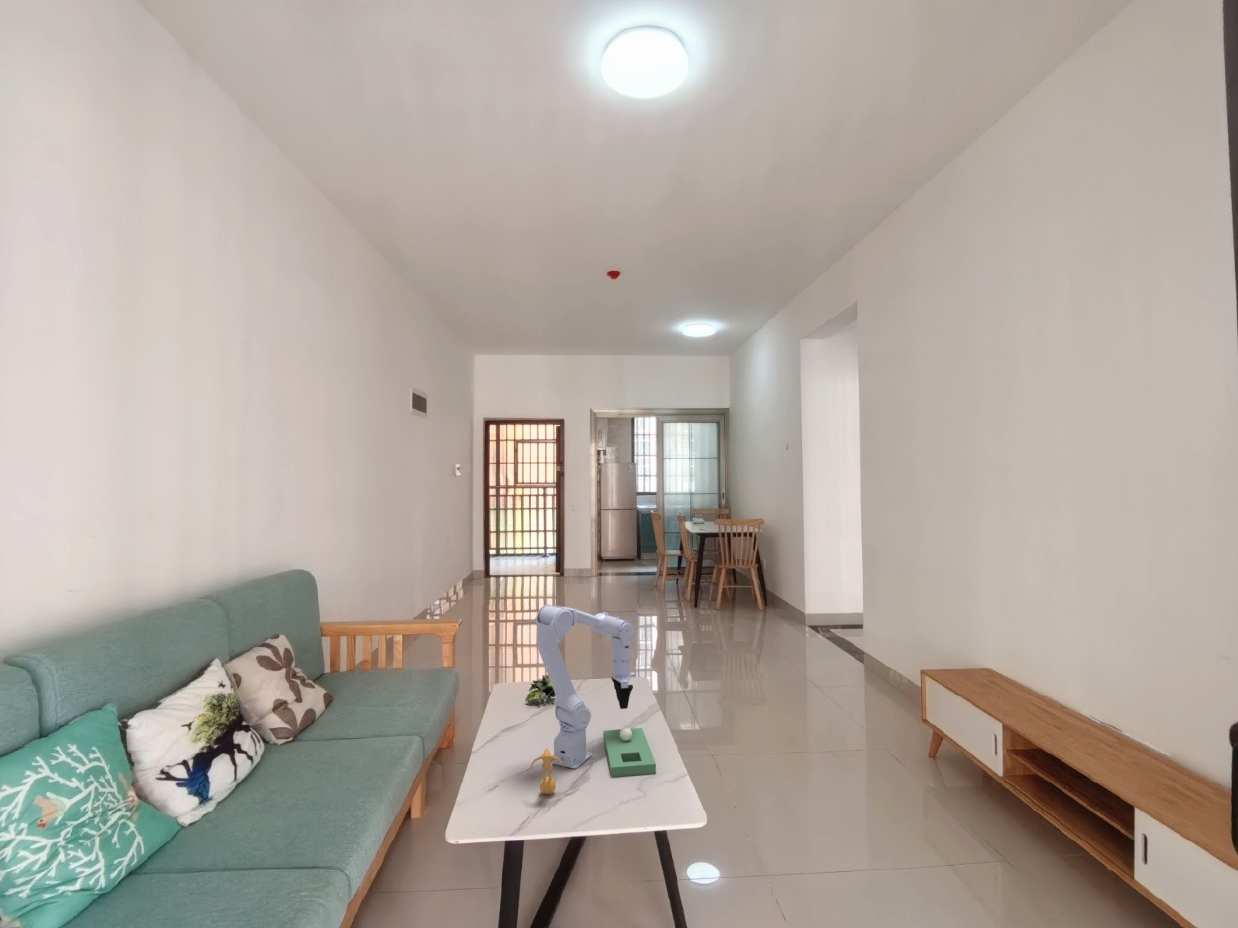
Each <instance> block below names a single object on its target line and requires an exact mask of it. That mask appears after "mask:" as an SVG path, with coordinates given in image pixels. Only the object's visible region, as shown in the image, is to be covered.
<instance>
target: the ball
mask: <svg viewBox="0 0 1238 928" xmlns="http://www.w3.org/2000/svg"><path fill="white" fill-rule="evenodd" d="M630 729H631V728H629V727H627V726H625V727H623V728H621V731H620V737H621V739H622V740H624V741H628V740H630V739H631V737H632V732H631V730H630Z"/></svg>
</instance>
